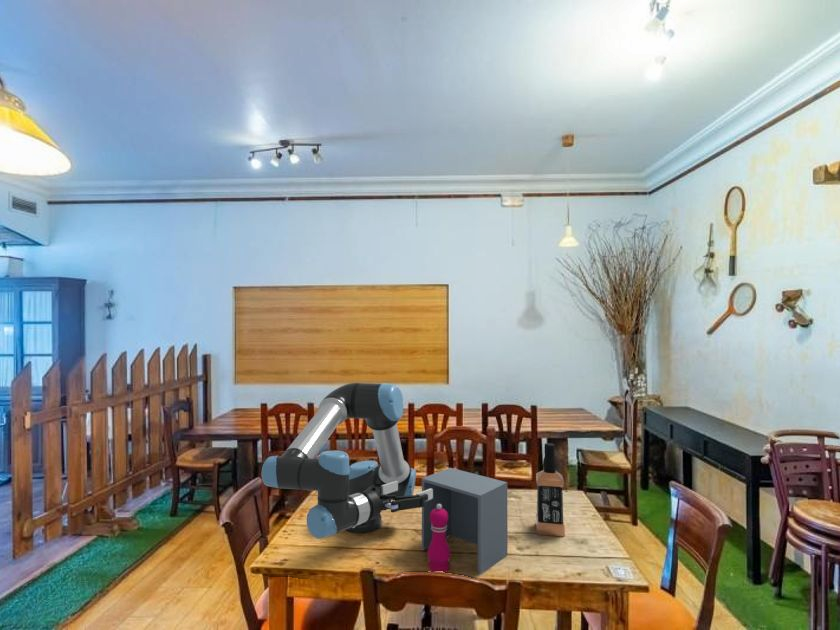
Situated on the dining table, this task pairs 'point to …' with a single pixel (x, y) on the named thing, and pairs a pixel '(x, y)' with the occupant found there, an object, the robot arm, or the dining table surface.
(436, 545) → the pepper mill
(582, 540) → the dining table surface
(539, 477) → the whiskey bottle
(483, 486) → the cubby
